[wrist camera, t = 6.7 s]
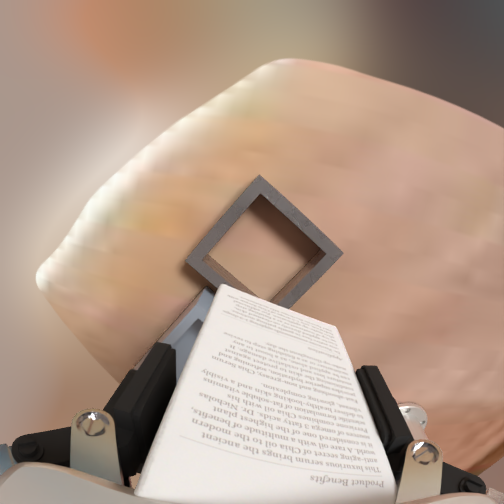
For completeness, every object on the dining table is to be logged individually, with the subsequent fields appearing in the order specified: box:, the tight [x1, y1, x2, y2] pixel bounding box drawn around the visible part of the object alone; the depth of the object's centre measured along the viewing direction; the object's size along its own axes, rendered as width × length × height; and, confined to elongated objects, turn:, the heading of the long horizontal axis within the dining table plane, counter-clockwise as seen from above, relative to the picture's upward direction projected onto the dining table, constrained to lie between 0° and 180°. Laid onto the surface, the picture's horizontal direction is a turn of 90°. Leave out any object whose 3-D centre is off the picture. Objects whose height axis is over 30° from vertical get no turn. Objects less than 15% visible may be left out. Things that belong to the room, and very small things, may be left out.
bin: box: [133, 286, 216, 383], centre depth 32 cm, size 16×16×5 cm
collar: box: [185, 175, 343, 309], centre depth 29 cm, size 11×11×2 cm
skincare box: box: [134, 284, 397, 504], centre depth 8 cm, size 6×4×12 cm
